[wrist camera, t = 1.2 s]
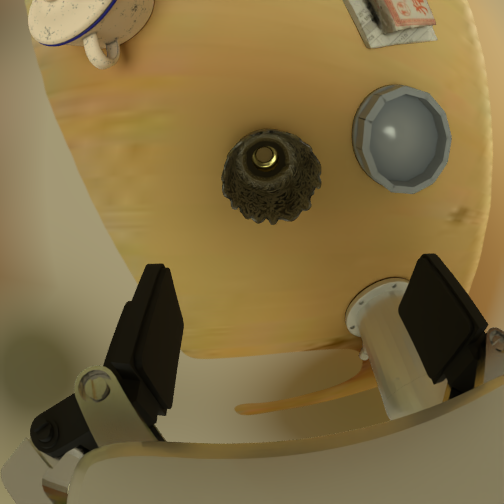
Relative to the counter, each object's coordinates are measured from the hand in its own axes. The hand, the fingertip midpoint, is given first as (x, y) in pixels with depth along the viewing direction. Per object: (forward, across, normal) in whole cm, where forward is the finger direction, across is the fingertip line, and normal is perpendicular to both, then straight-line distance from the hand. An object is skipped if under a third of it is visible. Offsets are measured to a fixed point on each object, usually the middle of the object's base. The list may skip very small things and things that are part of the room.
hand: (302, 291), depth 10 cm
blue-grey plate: (+20, -15, -3) cm, 25 cm away
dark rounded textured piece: (+20, 0, 0) cm, 20 cm away
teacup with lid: (+20, +14, -16) cm, 29 cm away
